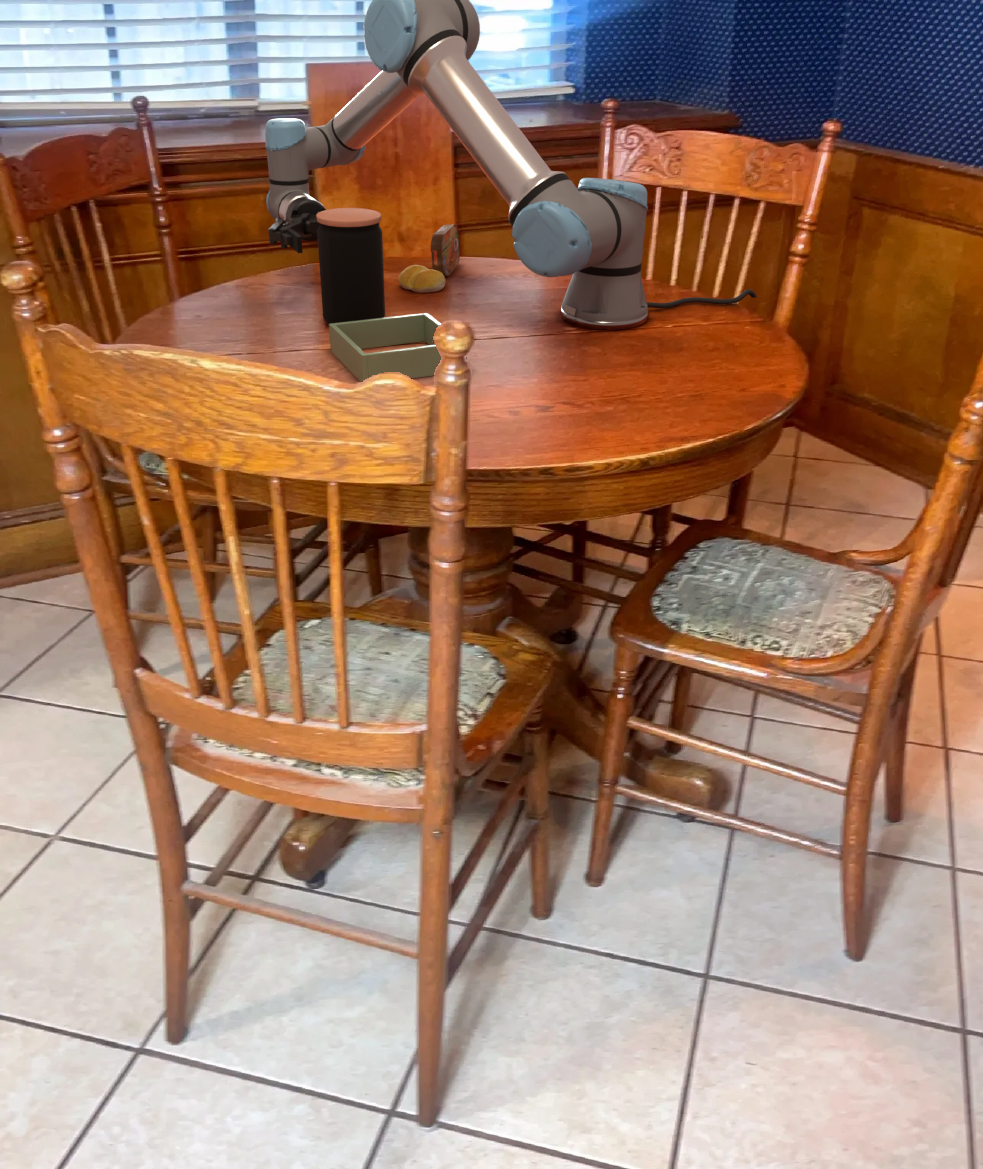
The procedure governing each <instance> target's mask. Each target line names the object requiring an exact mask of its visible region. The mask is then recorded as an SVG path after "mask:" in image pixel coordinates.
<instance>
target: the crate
mask: <svg viewBox="0 0 983 1169" xmlns="http://www.w3.org/2000/svg"><path fill="white" fill-rule="evenodd" d="M441 324H442V323H441V322H440V321H438V320H437V319H436V318H435V317H433V316H432V315H431V314H429V313H428V312H423V313H414V314H404V315H396V316H395V315H394V316H387V317H386V316H385V317H384V318H377V319H368V320H359V321H350V322H341V323H332V324H329V326H328V330H329V332H328V333H329V345H330V353H332V354H333V356H335V358H336V359H337V360H338V361H339V362H340V363H341V364H342V365H343V366H344V367H345V368H346V369H347V370H348V371H349V372H350V373H351V374H352V375H353V376H354V377H355V378H356V379H357V380H358V381H359V382H360V383H361V382H363V380H365V379H367V378H369V377H371V376H372V375H377V374H379V373H384V372H400V373H402V374H404V375H407V376H409V377H410V378H412V379H418V378H426V377H427V378H428V377H433V375H434V372H435V369H436V367H437V366H438V364H439V363H440V360H441V356H440V354H439V352H438V350H437V348H436V345H435V344H434V340H433V336H434V333H435V331H436V328H437V327H438V326H439V325H441ZM432 341H433V342H432ZM423 342H425V343H426V344H427V345H422V346H416V347H415V346H414V347H406V348H398V349H391V350H382V351H374V352H365V351H364V350H366V349H367V350H368V349H374V348H381V347H382V348H383V347H389V346H397V345H408V344H414V343H423ZM466 359H467V360H468V356H467V357H466ZM434 376H435V375H434Z"/></svg>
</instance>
